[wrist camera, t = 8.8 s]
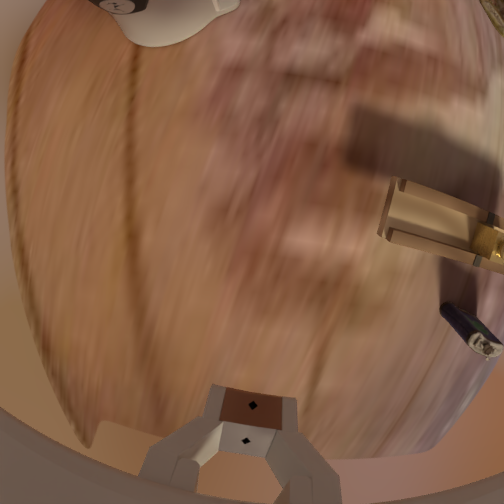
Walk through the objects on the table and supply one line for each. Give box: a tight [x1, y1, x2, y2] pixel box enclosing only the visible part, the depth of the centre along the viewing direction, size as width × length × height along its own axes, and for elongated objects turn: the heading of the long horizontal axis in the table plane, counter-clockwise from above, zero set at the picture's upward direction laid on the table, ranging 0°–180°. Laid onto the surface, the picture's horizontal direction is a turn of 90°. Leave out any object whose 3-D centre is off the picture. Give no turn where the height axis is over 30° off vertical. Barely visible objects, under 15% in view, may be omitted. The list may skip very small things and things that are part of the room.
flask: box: [439, 302, 504, 361], centre depth 33 cm, size 9×3×11 cm, turn 66°
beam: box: [377, 176, 504, 274], centre depth 28 cm, size 6×24×11 cm, turn 79°
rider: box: [470, 222, 504, 265], centre depth 24 cm, size 3×3×5 cm
